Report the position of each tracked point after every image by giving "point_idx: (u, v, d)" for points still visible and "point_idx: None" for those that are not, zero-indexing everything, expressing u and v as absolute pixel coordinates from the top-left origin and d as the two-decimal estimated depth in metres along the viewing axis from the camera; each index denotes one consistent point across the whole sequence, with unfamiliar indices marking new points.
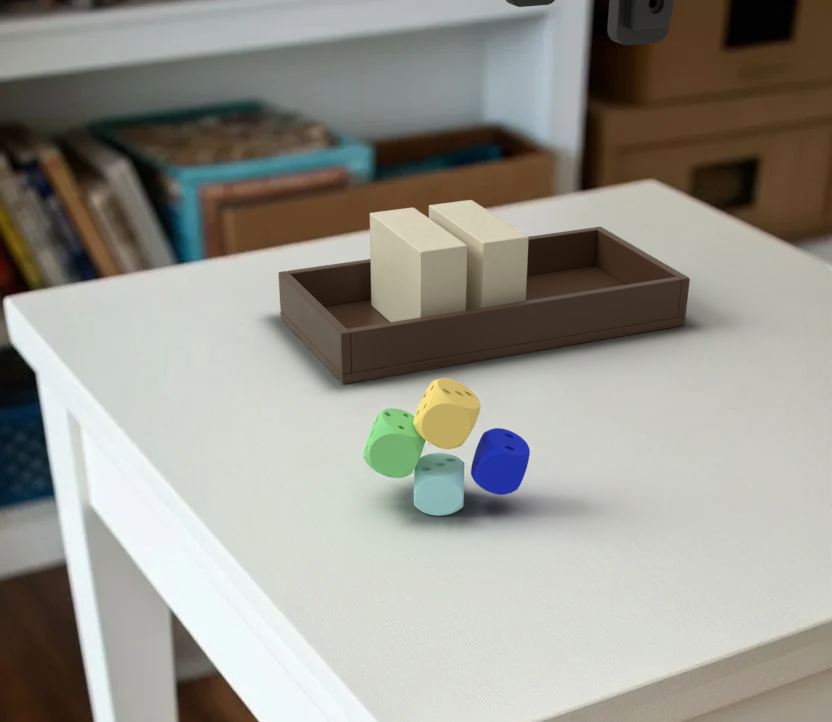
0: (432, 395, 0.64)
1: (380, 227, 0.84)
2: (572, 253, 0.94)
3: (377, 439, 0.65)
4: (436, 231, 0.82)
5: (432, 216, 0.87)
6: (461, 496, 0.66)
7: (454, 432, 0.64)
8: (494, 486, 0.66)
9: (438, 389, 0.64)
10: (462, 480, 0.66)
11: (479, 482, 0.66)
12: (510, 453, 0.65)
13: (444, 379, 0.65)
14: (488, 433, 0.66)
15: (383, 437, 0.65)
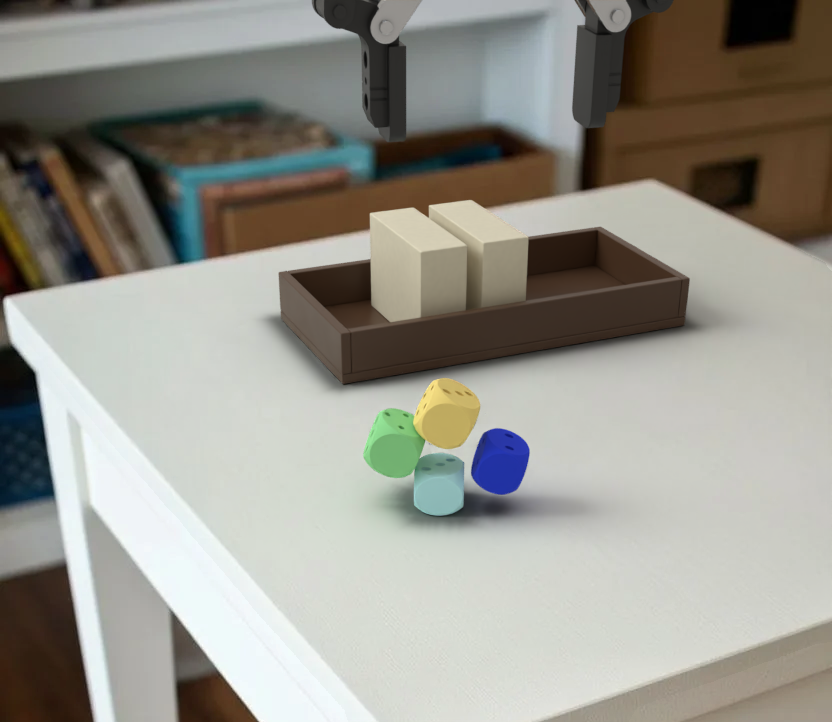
0: (432, 395, 0.64)
1: (380, 227, 0.84)
2: (572, 253, 0.94)
3: (377, 439, 0.65)
4: (436, 231, 0.82)
5: (432, 216, 0.87)
6: (461, 496, 0.66)
7: (454, 432, 0.64)
8: (494, 486, 0.66)
9: (438, 389, 0.64)
10: (462, 480, 0.66)
11: (479, 482, 0.66)
12: (510, 453, 0.65)
13: (444, 379, 0.65)
14: (488, 433, 0.66)
15: (383, 437, 0.65)
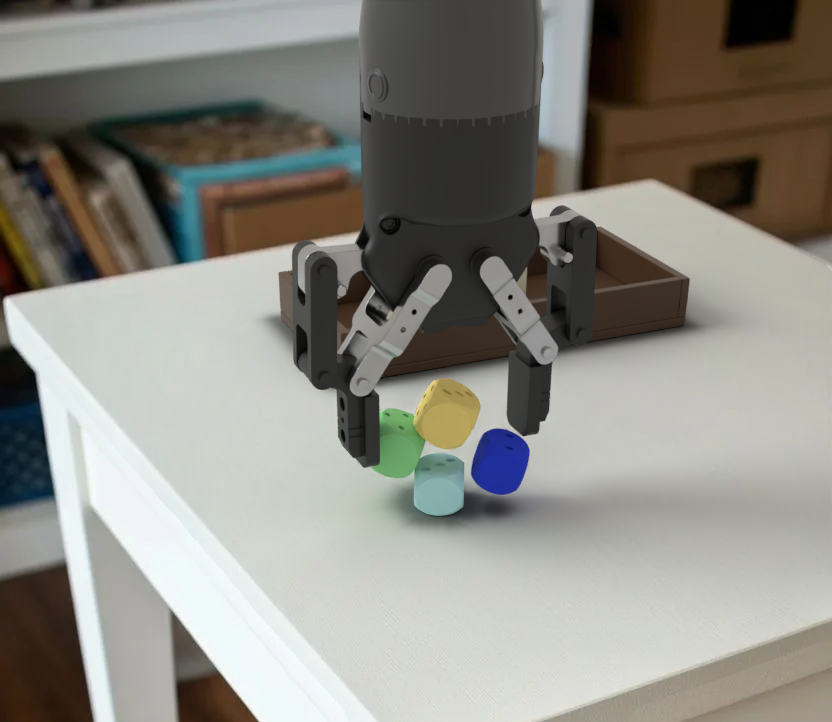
0: (432, 395, 0.64)
1: None
2: None
3: None
4: None
5: None
6: (461, 496, 0.66)
7: (454, 432, 0.64)
8: (494, 486, 0.66)
9: (438, 389, 0.64)
10: (462, 480, 0.66)
11: (479, 482, 0.66)
12: (510, 453, 0.65)
13: (444, 379, 0.65)
14: (488, 433, 0.66)
15: (383, 437, 0.65)
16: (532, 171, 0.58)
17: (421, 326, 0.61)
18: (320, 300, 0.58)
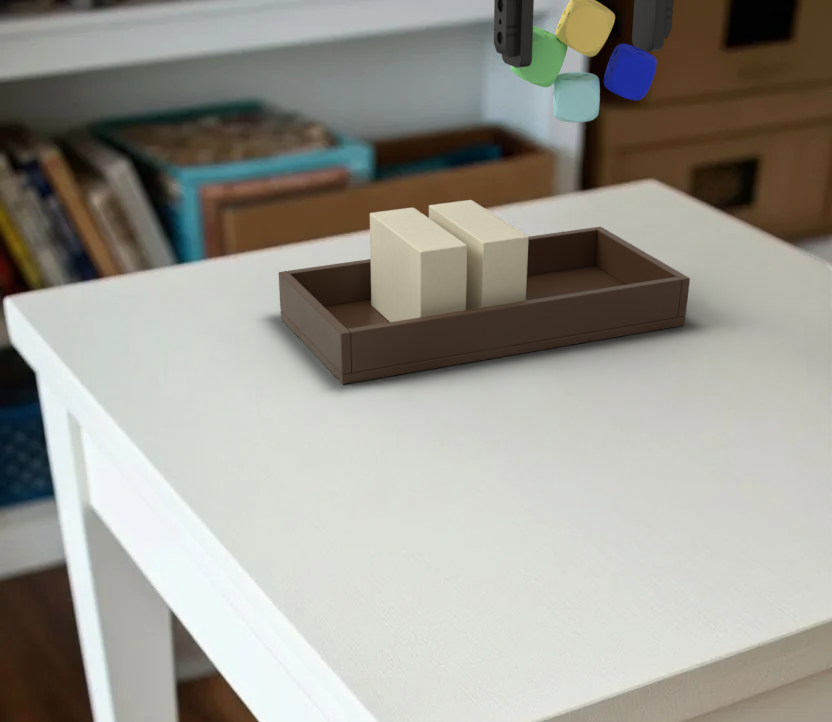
0: (575, 2, 0.74)
1: (380, 227, 0.84)
2: (572, 253, 0.94)
3: None
4: (436, 231, 0.82)
5: (432, 216, 0.87)
6: (597, 101, 0.76)
7: (594, 36, 0.74)
8: (627, 90, 0.76)
9: None
10: (598, 87, 0.76)
11: (613, 87, 0.76)
12: (642, 56, 0.75)
13: None
14: (620, 44, 0.76)
15: (532, 43, 0.75)
16: None
17: None
18: None
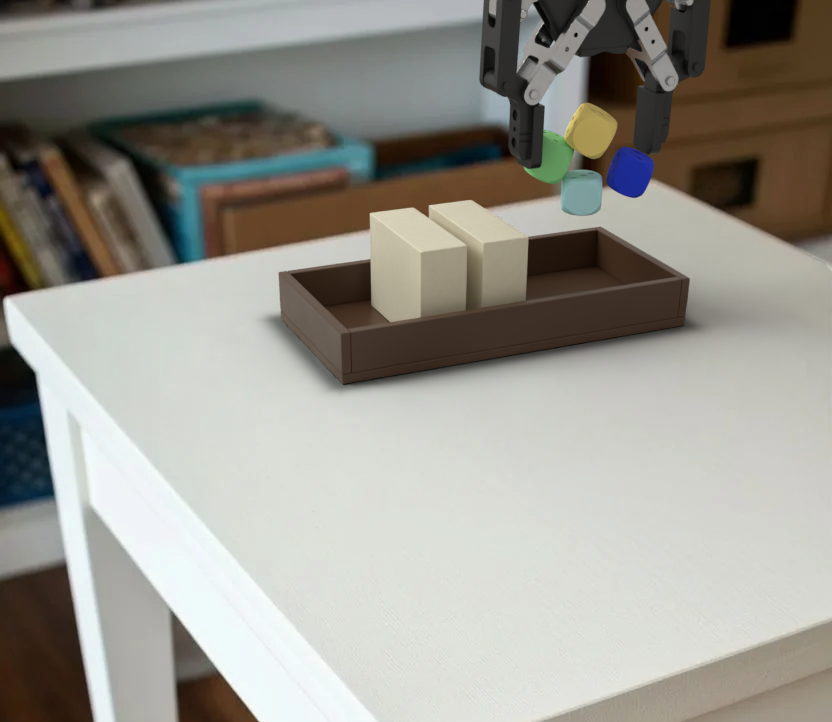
0: (581, 112, 0.83)
1: (380, 227, 0.84)
2: (572, 253, 0.94)
3: None
4: (436, 231, 0.82)
5: (432, 216, 0.87)
6: (600, 198, 0.85)
7: (598, 142, 0.83)
8: (626, 189, 0.85)
9: (586, 107, 0.83)
10: (601, 185, 0.85)
11: (614, 186, 0.85)
12: (640, 160, 0.84)
13: (589, 103, 0.84)
14: (621, 148, 0.85)
15: (543, 146, 0.84)
16: None
17: (578, 50, 0.80)
18: (508, 20, 0.77)
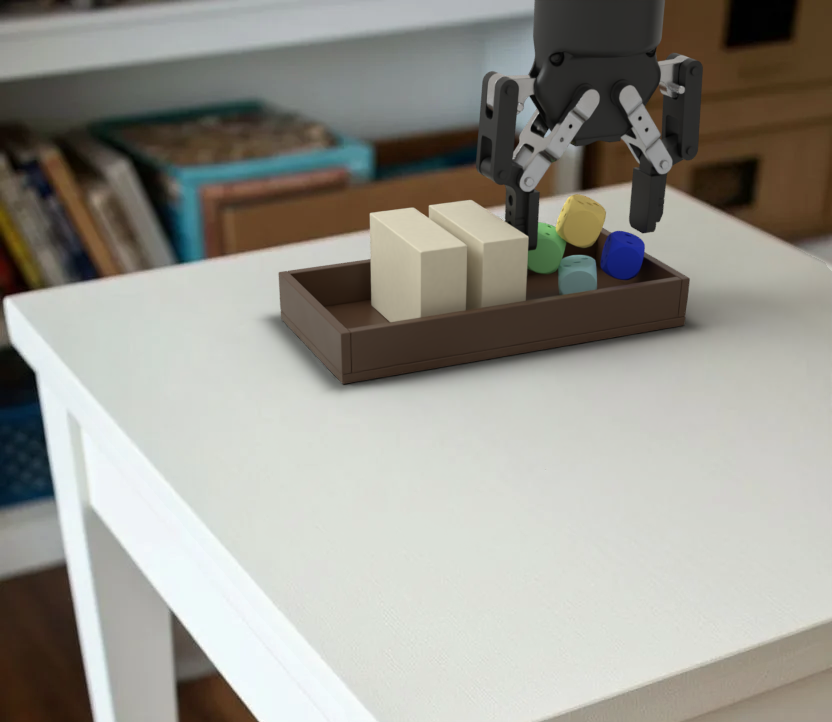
0: (570, 206, 0.86)
1: (380, 227, 0.84)
2: (572, 253, 0.94)
3: None
4: (436, 231, 0.82)
5: (432, 216, 0.87)
6: (595, 284, 0.88)
7: (588, 233, 0.86)
8: (620, 273, 0.88)
9: (574, 201, 0.86)
10: (595, 271, 0.88)
11: (608, 271, 0.88)
12: (631, 246, 0.87)
13: (577, 195, 0.87)
14: (612, 234, 0.88)
15: None
16: (661, 18, 0.79)
17: (574, 140, 0.83)
18: (505, 113, 0.80)
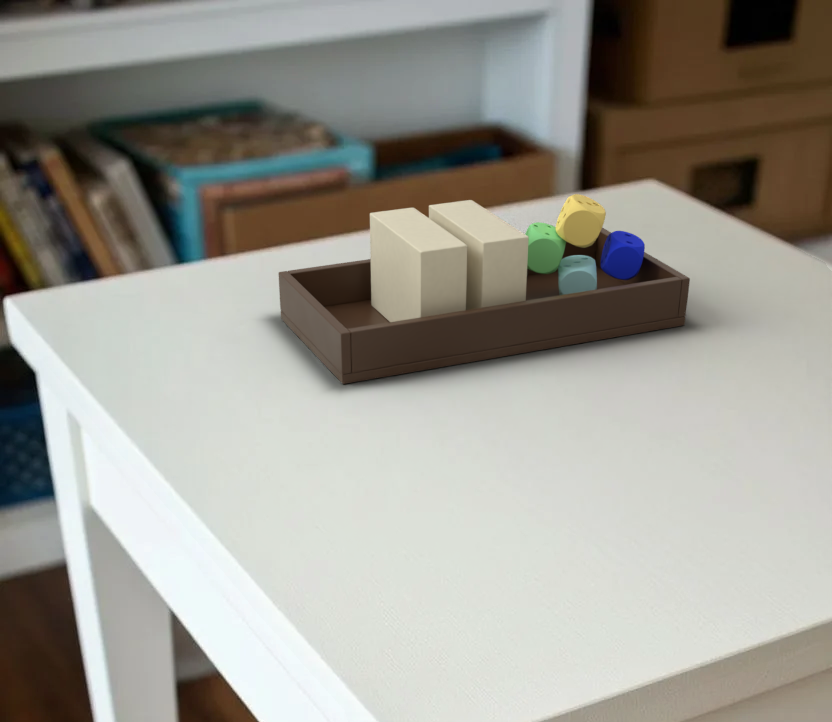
0: (569, 206, 0.86)
1: (380, 227, 0.84)
2: (572, 253, 0.94)
3: (530, 244, 0.87)
4: (436, 231, 0.82)
5: (432, 216, 0.87)
6: (595, 283, 0.88)
7: (588, 232, 0.86)
8: (620, 273, 0.88)
9: (574, 201, 0.86)
10: (595, 271, 0.88)
11: (608, 271, 0.88)
12: (631, 245, 0.87)
13: (577, 195, 0.87)
14: (612, 233, 0.88)
15: (535, 241, 0.87)
16: None
17: None
18: None
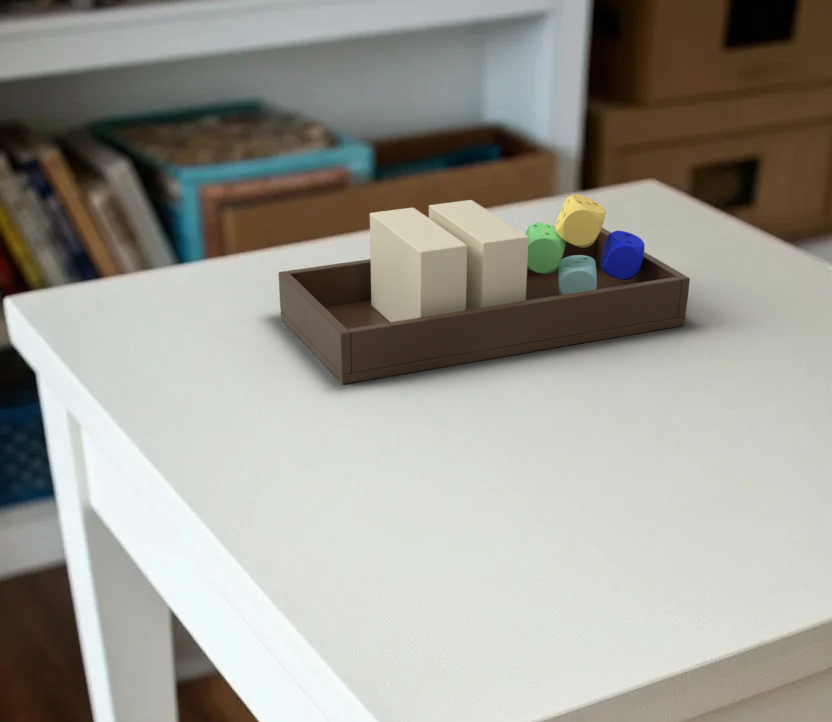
0: (569, 205, 0.86)
1: (380, 227, 0.84)
2: (572, 253, 0.94)
3: (530, 243, 0.87)
4: (436, 231, 0.82)
5: (432, 216, 0.87)
6: (595, 283, 0.88)
7: (587, 232, 0.86)
8: (619, 273, 0.88)
9: (573, 201, 0.86)
10: (595, 271, 0.88)
11: (608, 271, 0.88)
12: (630, 245, 0.87)
13: (576, 194, 0.87)
14: (612, 233, 0.88)
15: (535, 241, 0.87)
16: None
17: None
18: None
